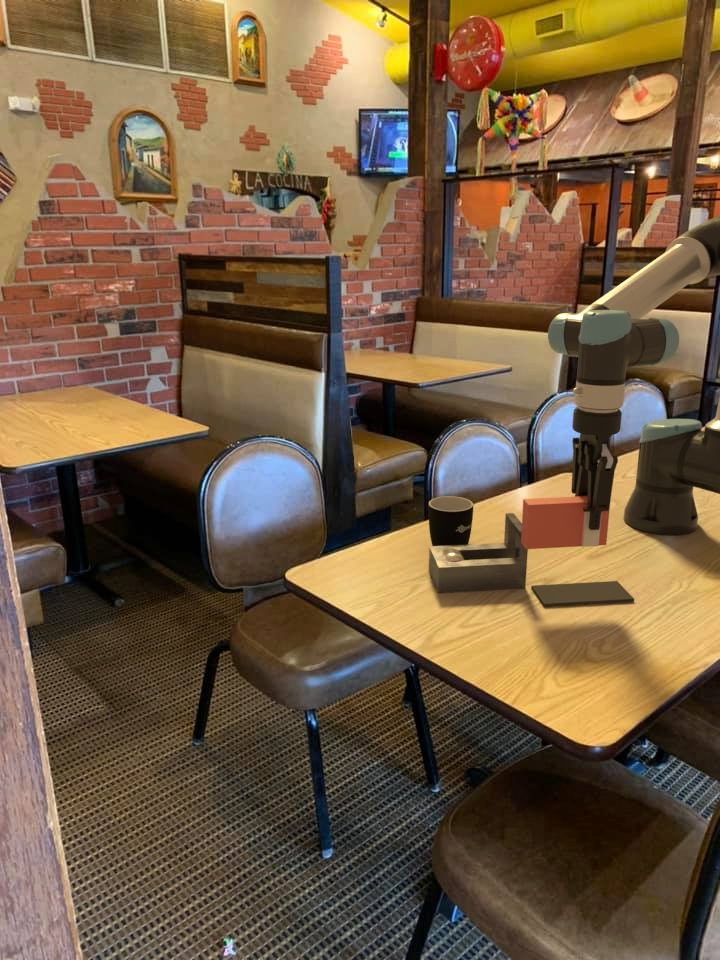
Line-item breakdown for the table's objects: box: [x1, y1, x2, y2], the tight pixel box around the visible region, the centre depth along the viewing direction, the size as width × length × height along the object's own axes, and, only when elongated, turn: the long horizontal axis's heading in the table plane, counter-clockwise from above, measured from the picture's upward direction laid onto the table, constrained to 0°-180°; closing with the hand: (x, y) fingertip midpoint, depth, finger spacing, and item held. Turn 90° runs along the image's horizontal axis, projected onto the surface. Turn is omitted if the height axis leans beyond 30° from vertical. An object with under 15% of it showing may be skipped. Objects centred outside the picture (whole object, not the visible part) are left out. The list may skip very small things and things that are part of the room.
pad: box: [530, 580, 635, 608], centre depth 128 cm, size 16×7×1 cm, turn 95°
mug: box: [427, 495, 474, 546], centre depth 147 cm, size 12×9×10 cm
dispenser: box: [428, 512, 529, 594], centre depth 133 cm, size 16×10×11 cm, turn 95°
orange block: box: [521, 496, 611, 550], centre depth 123 cm, size 14×3×8 cm, turn 95°
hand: (585, 541), depth 124 cm, fingers closed on orange block, 3 cm apart
